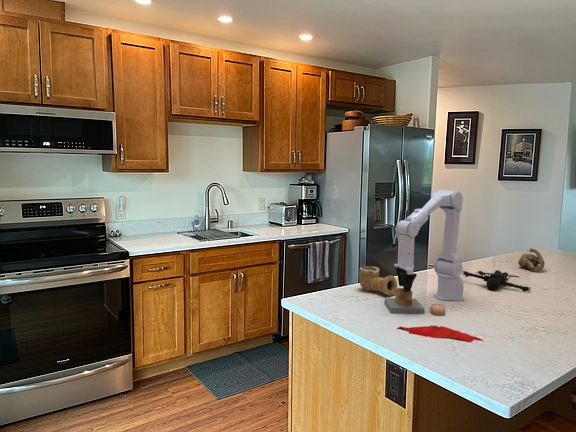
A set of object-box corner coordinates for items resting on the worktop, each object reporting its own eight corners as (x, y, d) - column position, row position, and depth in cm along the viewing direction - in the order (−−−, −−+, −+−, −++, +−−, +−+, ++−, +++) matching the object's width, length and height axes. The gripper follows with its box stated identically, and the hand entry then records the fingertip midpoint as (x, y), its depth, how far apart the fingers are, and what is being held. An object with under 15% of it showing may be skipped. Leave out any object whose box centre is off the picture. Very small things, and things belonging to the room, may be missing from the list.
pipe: (386, 298, 172) (387, 274, 171) (353, 290, 184) (354, 267, 182) (398, 294, 179) (399, 271, 178) (366, 286, 190) (366, 264, 189)
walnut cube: (408, 301, 163) (408, 288, 162) (411, 305, 158) (412, 292, 157) (395, 300, 163) (395, 288, 162) (398, 305, 158) (398, 291, 157)
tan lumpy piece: (521, 274, 234) (540, 275, 219) (509, 264, 234) (527, 264, 219) (534, 256, 236) (553, 255, 221) (521, 246, 235) (540, 245, 220)
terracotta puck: (442, 311, 158) (442, 303, 157) (446, 316, 153) (447, 308, 152) (428, 311, 158) (428, 303, 157) (432, 315, 153) (432, 307, 152)
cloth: (487, 337, 135) (487, 330, 135) (480, 353, 123) (481, 345, 123) (405, 321, 149) (406, 314, 148) (392, 333, 137) (392, 326, 137)
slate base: (415, 303, 166) (415, 298, 166) (424, 313, 154) (424, 308, 154) (384, 303, 166) (384, 298, 166) (390, 313, 155) (391, 307, 154)
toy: (469, 272, 218) (456, 282, 193) (472, 259, 216) (459, 267, 192) (533, 289, 202) (527, 302, 177) (536, 274, 201) (531, 286, 176)
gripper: (390, 249, 165) (389, 283, 167) (399, 256, 151) (398, 294, 153) (409, 249, 165) (407, 283, 167) (419, 257, 151) (418, 294, 152)
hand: (404, 288), depth 160 cm, fingers open, 7 cm apart
